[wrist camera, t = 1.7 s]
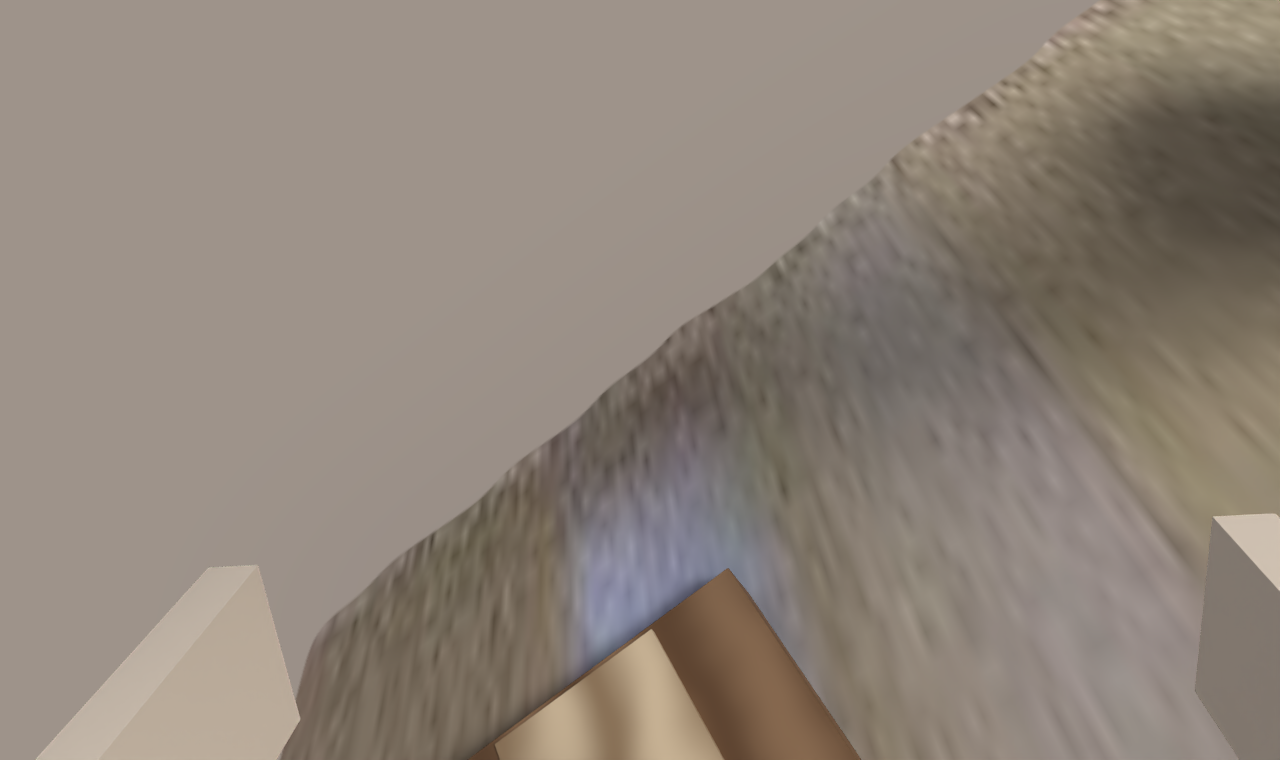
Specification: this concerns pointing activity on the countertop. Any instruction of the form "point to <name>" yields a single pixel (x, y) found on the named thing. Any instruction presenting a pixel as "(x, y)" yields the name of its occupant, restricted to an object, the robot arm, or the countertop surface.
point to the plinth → (686, 695)
